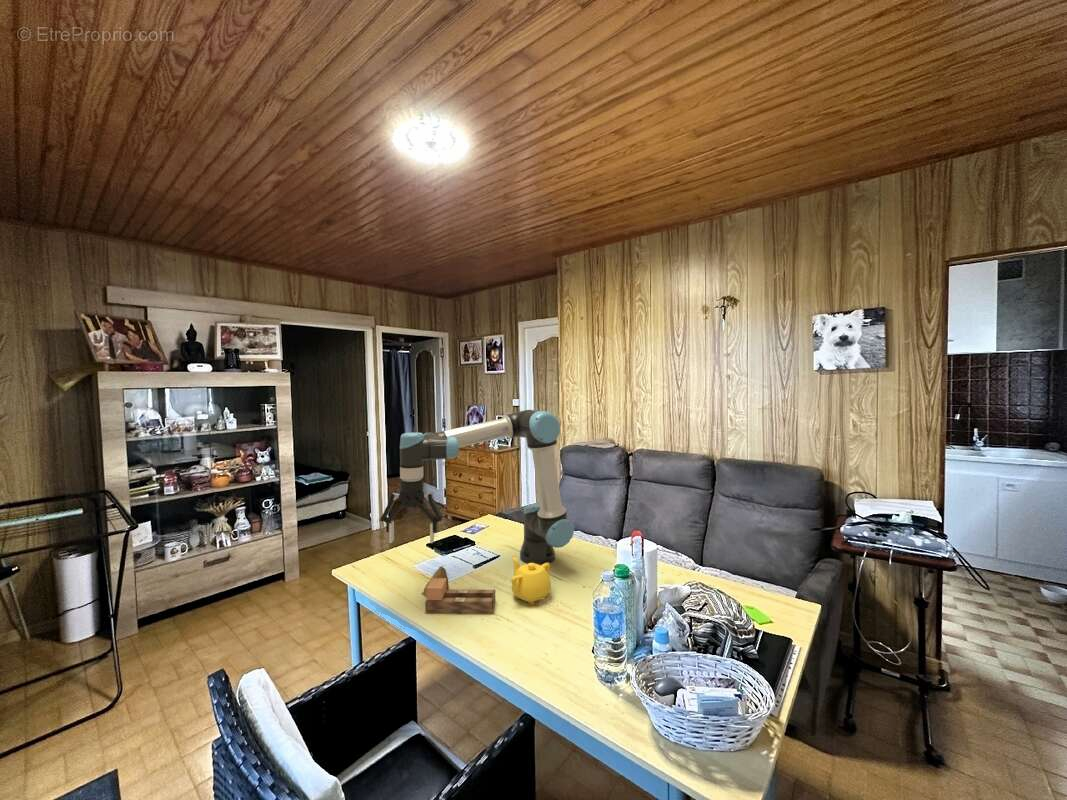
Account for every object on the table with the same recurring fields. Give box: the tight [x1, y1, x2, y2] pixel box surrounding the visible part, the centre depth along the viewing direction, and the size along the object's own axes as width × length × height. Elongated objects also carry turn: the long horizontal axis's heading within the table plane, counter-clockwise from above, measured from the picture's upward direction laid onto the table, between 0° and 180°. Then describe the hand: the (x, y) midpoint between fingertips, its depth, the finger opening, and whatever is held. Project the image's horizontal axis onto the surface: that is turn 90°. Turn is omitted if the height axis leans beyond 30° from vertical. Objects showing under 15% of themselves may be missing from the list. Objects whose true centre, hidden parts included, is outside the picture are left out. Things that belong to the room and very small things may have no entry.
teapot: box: [510, 556, 552, 606], centre depth 147 cm, size 14×14×12 cm
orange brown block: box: [426, 577, 446, 600], centre depth 139 cm, size 5×7×7 cm
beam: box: [424, 588, 496, 615], centre depth 140 cm, size 22×9×4 cm, turn 90°
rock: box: [421, 566, 450, 597], centre depth 146 cm, size 11×9×10 cm
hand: (411, 541), depth 141 cm, fingers open, 13 cm apart
